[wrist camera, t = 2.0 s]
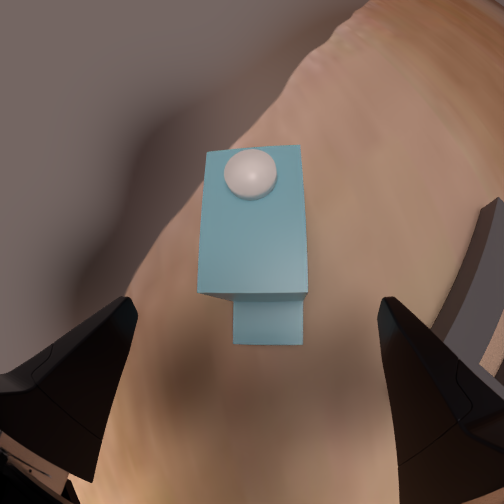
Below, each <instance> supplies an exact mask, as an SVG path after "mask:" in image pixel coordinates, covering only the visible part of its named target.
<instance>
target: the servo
mask: <svg viewBox="0 0 504 504" xmlns="http://www.w3.org/2000/svg"><path fill="white" fill-rule="evenodd" d="M197 293H201V294H205V295H209V296H213V297H217V298H221V299H225V300H229V301H233V302H234V305H233V344H247V345H303V300H304V299H305V297H306V295H307V293H308V269H307V240H306V219H305V202H304V187H303V174H302V162H301V150H300V145H285V146H266V147H252V148H241V149H230V150H222V151H212V152H207V157H206V167H205V178H204V188H203V200H202V213H201V227H200V243H199V261H198V283H197Z"/></svg>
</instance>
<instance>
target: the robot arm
mask: <svg viewBox="0 0 504 504" xmlns="http://www.w3.org/2000/svg"><path fill="white" fill-rule="evenodd" d="M137 320H138V313H137V310H136V308H135V306H134V304H133V302H132V300H131V298H130V297H123V296H121V297H119V298H117V299H116V300H114V301H113V302H111V303H110V304H108V305H107V306H105V307H104V308H102V309H101V310H99V311H98V312H97V313H95V314H94V315H92V316H91V317H89V318H88V319H86V320H85V321H84V322H82V323H81V324H79V325H78V326H76V327H75V328H74V329H72V330H71V331H69V332H68V333H66V334H65V335H64V336H62V337H61V338H59V339H58V340H57V341H55V342H54V343H53V344H51V345H50V346H48V347H47V348H45V349H44V350H43V351H41V352H40V353H38V354H37V355H36V356H34V357H32V358H31V359H29V360H28V361H26V362H24V363H23V364H21V365H20V366H18V367H16V368H15V369H14V370H12V371H10V372H8V373H6V374H0V504H80V501H79V499H78V497H77V495H76V492H75V490H74V487H73V485H72V482H71V480H69V479H67V478H68V475H69V473H70V474H73V475H75V476H77V477H79V478H81V479H83V480H85V481H88V482H90V483H92V482H93V479H94V474H95V469H96V465H97V460H98V456H99V452H100V448H101V444H102V439H103V435H104V432H105V428H106V424H107V421H108V417H109V414H110V410H111V407H112V403H113V400H114V397H115V393H116V390H117V387H118V384H119V381H120V378H121V375H122V372H123V369H124V366H125V363H126V360H127V357H128V354H129V351H130V347H131V343H132V339H133V335H134V331H135V327H136V323H137ZM377 322H378V330H379V338H380V347H381V356H382V363H383V368H384V373H385V378H386V383H387V389H388V394H389V400H390V406H391V412H392V419H393V426H394V434H395V442H396V451H397V462H398V477H399V499H400V504H504V400H503V399H502V398H501V397H500V396H499V395H498V394H497V393H496V392H494V391H493V390H492V389H491V388H490V387H489V386H488V385H487V384H485V383H484V382H483V381H482V380H481V379H480V378H479V377H478V376H477V375H476V374H475V373H474V372H473V371H472V370H471V369H470V368H468V367H467V366H466V365H465V363H464V362H463V361H462V360H461V359H459V358H458V356H457V355H456V354H455V353H454V352H453V351H452V350H451V349H450V348H449V347H448V346H447V345H446V344H445V343H444V342H442V341H441V340H440V339H439V338H438V337H437V336H436V335H435V334H434V333H433V332H432V331H431V330H430V329H429V328H428V327H427V326H426V325H425V324H424V323H423V322H422V321H421V320H419V319H418V318H417V317H416V316H415V315H414V314H413V313H412V312H411V311H410V310H409V309H408V308H406V307H405V306H404V305H403V304H402V303H401V302H400V301H399V300H398V299H396V298H395V297H384V298H383V299H382V301H381V304H380V308H379V312H378V316H377Z"/></svg>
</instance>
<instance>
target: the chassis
mask: <svg viewBox="0 0 504 504" xmlns="http://www.w3.org/2000/svg"><path fill="white" fill-rule="evenodd" d="M503 309H504V202H503V201H502V200H501V199H500V198H499V197H497V198H496V199H495V200H493V201H492V202H491V203H489V204H488V205H486V206H485V207H484V208H482V209H481V212H480V215H479V218H478V222H477V225H476V228H475V231H474V234H473V237H472V240H471V243H470V245H469V248H468V251H467V253H466V256H465V259H464V261H463V264H462V266H461V268H460V271H459V273H458V276H457V278H456V280H455V282H454V285H453V287H452V289H451V291H450V293H449V295H448V297H447V299H446V301H445V303H444V305H443V307H442V309H441V311H440V313H439V315H438V317H437V319H436V321H435V322H434V324H433V326H432V328H431V331H432V332H433V333H434V334H435V335H436V336H437V337H438V338H439V339H440V340H441V341H442V342H444V343H445V344H446V345H447V346H448V347H449V348H450V349H451V350H452V351H453V352H454V353H455V354H456V355H457V356H458V358H459V359H461V360H462V361H463V362H464V363H465V365H466V366H467V367H468V368H470V369H471V370H472V371H473V372H474V373H475V374H476V375H477V376H478V377H479V378H480V379H481V380H482V381H483V382H484V383H485V384H487V385H488V386H489V387H490V388H491V389H492V390H493V391H494V392H496V393H497V394H498V395H499V396H500V397H501V398H502V399H503V400H504V360H503V362H502V364H501V366H500V368H499V370H498V372H497V374H496V376H495V378H494V377H493V376H492V375H491V374H490V373H488V372H487V371H486V370H485V369H484V368H483V367H482V366H480V365H479V362H480V361H481V359H482V357H483V355H484V353H485V351H486V349H487V346H488V344H489V342H490V340H491V338H492V336H493V333H494V331H495V329H496V326H497V324H498V322H499V319H500V317H501V314H502V311H503Z"/></svg>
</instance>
